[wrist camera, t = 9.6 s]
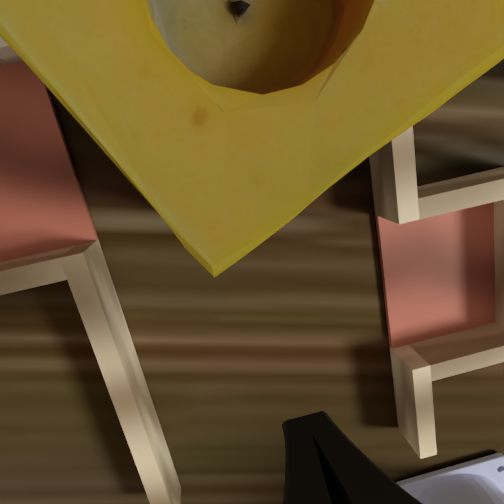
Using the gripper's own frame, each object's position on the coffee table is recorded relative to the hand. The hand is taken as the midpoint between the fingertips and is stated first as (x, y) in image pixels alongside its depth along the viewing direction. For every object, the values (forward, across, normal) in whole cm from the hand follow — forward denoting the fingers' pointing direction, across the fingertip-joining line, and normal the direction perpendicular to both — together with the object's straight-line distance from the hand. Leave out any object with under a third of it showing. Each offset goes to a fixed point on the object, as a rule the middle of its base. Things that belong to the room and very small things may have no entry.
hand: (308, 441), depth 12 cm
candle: (+10, 0, -12) cm, 16 cm away
